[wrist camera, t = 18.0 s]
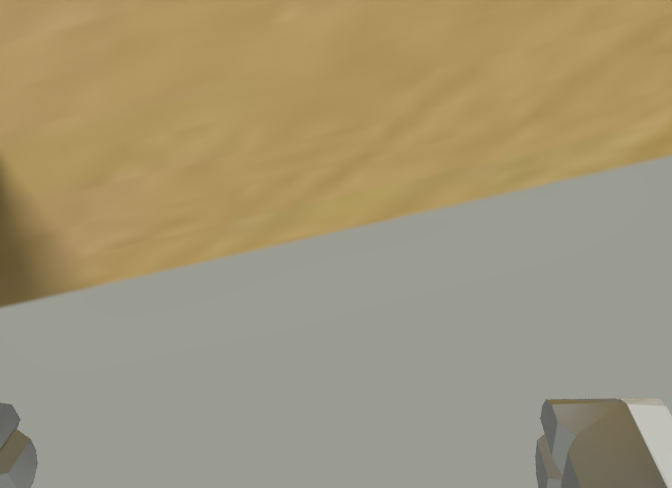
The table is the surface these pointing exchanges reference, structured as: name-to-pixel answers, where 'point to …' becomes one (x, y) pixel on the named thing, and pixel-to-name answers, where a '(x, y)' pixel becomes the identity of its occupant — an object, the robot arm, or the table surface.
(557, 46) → the table surface
